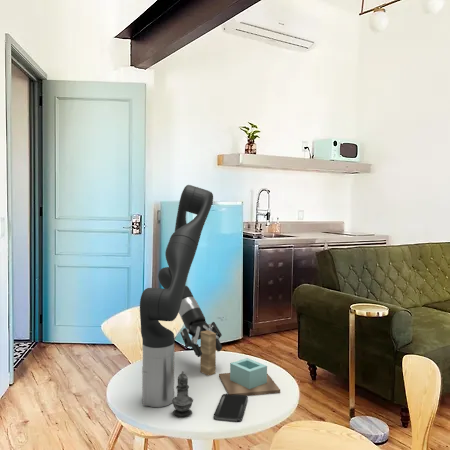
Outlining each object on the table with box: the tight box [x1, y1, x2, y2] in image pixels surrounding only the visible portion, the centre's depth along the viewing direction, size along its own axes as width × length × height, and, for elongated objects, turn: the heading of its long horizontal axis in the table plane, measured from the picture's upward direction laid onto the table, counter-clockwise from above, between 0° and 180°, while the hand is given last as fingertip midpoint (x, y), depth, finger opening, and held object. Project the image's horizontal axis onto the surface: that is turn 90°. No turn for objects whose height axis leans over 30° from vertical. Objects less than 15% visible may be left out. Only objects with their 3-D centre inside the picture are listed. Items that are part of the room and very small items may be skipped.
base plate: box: [218, 372, 281, 397], centre depth 145 cm, size 16×16×1 cm
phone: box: [212, 393, 249, 423], centre depth 128 cm, size 8×1×15 cm
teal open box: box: [229, 357, 268, 389], centre depth 144 cm, size 8×9×6 cm
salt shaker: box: [171, 370, 194, 419], centre depth 125 cm, size 6×6×12 cm
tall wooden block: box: [199, 330, 217, 377], centre depth 154 cm, size 3×4×14 cm, turn 40°
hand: (210, 353), depth 153 cm, fingers open, 8 cm apart
